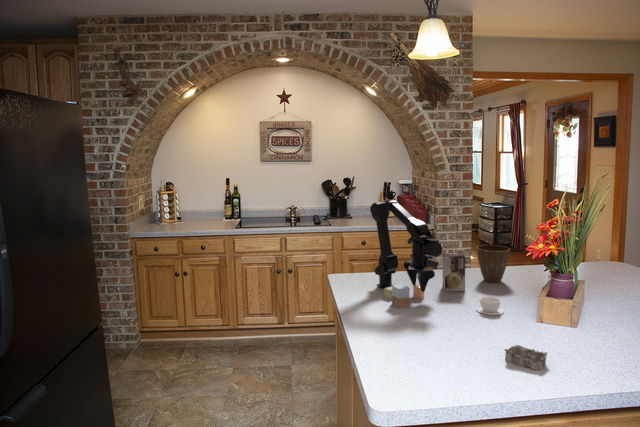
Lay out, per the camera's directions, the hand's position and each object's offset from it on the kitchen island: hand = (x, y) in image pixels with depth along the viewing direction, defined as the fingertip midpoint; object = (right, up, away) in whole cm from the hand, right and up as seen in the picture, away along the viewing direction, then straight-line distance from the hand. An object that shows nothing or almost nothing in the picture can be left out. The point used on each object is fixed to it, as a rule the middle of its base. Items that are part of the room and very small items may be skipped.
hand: (418, 288), depth 196 cm
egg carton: (+19, -12, -60) cm, 64 cm away
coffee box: (+18, -2, +11) cm, 22 cm away
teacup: (+24, -6, -17) cm, 30 cm away
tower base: (-9, -6, -9) cm, 14 cm away
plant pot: (+40, 0, +23) cm, 46 cm away
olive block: (-11, -4, +2) cm, 12 cm away
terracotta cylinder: (0, -4, 0) cm, 4 cm away
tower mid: (-9, -2, -9) cm, 13 cm away
